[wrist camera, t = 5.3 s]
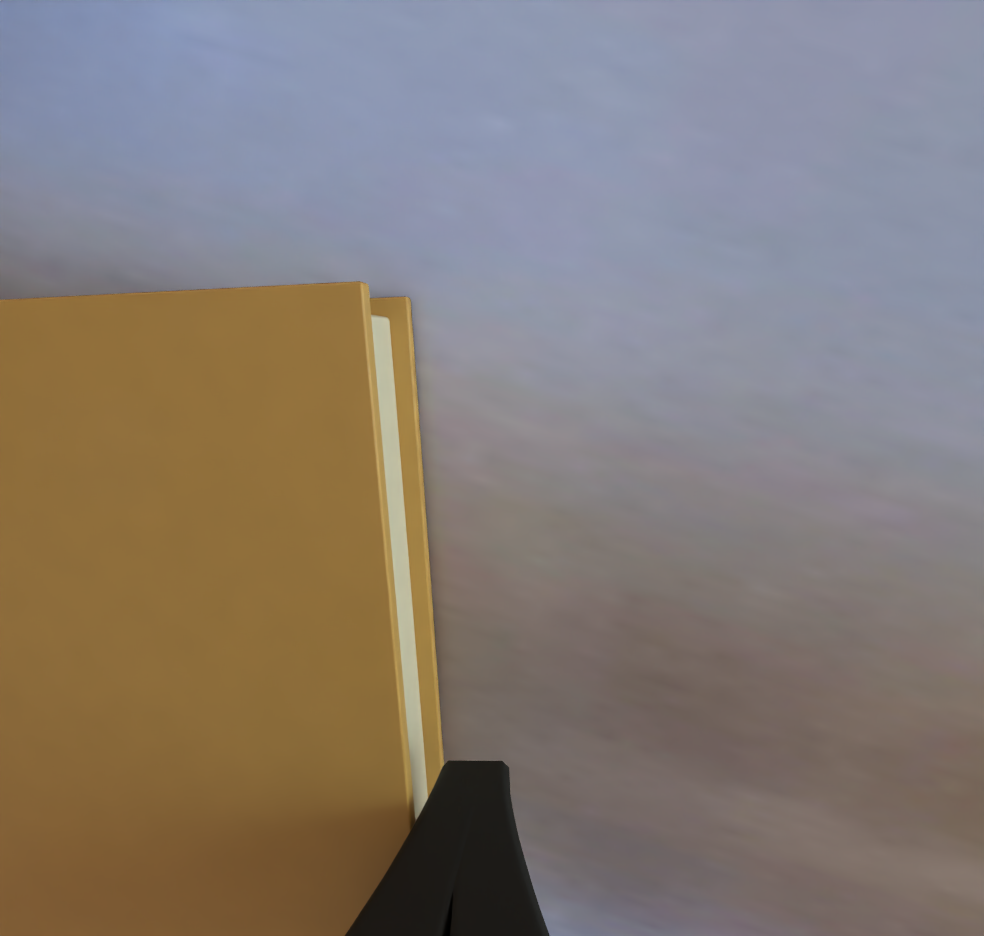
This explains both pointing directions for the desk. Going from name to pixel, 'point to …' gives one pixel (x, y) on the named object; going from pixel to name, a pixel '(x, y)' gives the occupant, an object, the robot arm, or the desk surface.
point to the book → (210, 610)
